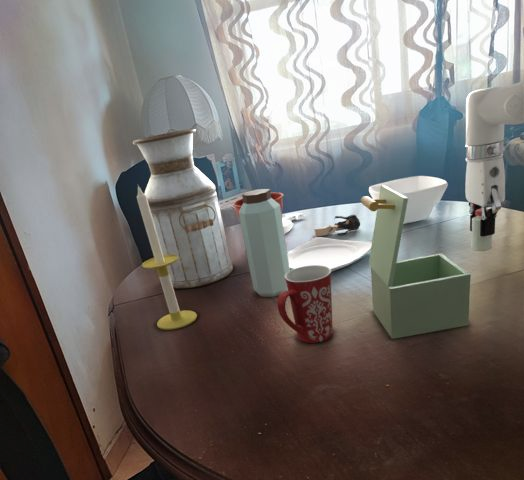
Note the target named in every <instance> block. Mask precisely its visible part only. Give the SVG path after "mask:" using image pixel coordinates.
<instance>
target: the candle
mask: <svg viewBox="0 0 524 480" xmlns="http://www.w3.org/2000/svg"><path fill="white" fill-rule="evenodd" d="M144 193H145V192H143V191H142V189H141V187H140V186H139V185H137V195H136V200H137V204H138V208H139V211H140V215H141V218H142V221H143V224H144V228H145V231H146V235H147V238H148V242H149V244H150V249H151V251H152V254H153V257H152V258H149V259H147V260H145V261H143V263H142V264H141V267H142V268H143V269H145V270H156V271H157V275H158V279H159V281H160V284H161V288H162V292H163V295H164V299H165V302H166V306H167V309H168V312H169V313H168V314H166V315H164V316H162V317H161V318H159V319H158V321H157V323H156V326H157V328H159V329H160V330H165V331H171V330H176V329H181V328H184V327H187V326H188V325H190V324H192V323H193V322H195V321H196V320H197V317H198V314H197V313H196V312H195V311H193V310H187V309H186V310H185V309H183V310H180V307H179V303H178V299H177V295H176V292H175V288H173V285H172V282H171V278H170V275H169V271H168V268H167V266H168V265H171V264H173V263H174V262H176V261H177V260H178V256H177V255H163V253H162V249H161V246H160V242H159V239H158V235H157V232H156V228H155V225H154V221H153V218H152V214H151V211H150V207H149V204H148V200H147V197H146V195H145V194H144Z"/></svg>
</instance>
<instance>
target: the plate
mask: <svg viewBox="0 0 524 480" xmlns="http://www.w3.org/2000/svg"><path fill="white" fill-rule="evenodd" d="M371 246H372V241H357V240H346V239H335V238H329V237H323V236H314V237H313V238H311V239H309V240H308V241H306V242H304V243H302V244H300V245H298V246H296V247H295V248H293V249H291V250H287V255H288V262H289V268H290V270H293V269H295V268H298V267H303V266H309V265H321V266H326V267H328V268H330V269H331V273H332V272H335V271H337V270H340V269H343V268H346V267H348V266H350V265H351V264H354V263H355V262H357V261H359V260H360V259H362V258H364V257H365V256H366V255H367V254H368V253H369V252H371Z"/></svg>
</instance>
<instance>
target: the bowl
mask: <svg viewBox="0 0 524 480" xmlns="http://www.w3.org/2000/svg"><path fill="white" fill-rule="evenodd" d="M381 185H385V186H387V187H389V188H390V189H392V190H394V191H396V192H398V193H399V194H401V195H403V196H405V197H407V198H408V203H407V208H406V213H405V219H404V224H403V225H405V224H409V223H410V224H411V223H415V222H419V221H423V220H427V219H429V217H430V216H431V214H432V212H433V209H434V207H435V205H437V204H440V201H441V200H442V198H443V196H444V194H445V192H446V190H447V188H448V187H449V183H448V182H447V180H445V179H444V178H443V179H442V178H439V177H436V176H435V177H434V176H428V175H415V176H408V177H403V178H398V179H393V180H389V181H385V182H380V183H377V184H374V185H370V186H369V187H368V192H369V194H370V196H371V199H379V195H380V188H381Z"/></svg>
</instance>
